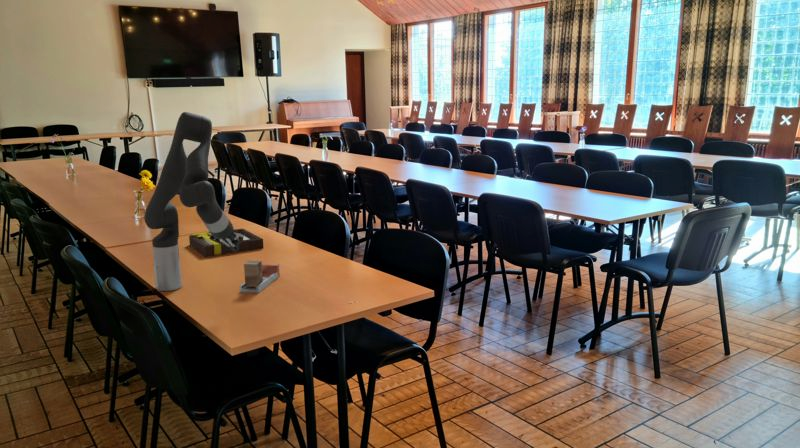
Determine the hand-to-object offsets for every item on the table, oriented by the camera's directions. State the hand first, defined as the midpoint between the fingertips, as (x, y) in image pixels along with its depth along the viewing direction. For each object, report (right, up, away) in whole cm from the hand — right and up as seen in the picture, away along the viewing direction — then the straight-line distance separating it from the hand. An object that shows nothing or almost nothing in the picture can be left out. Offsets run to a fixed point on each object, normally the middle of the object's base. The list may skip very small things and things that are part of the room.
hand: (236, 249), depth 217 cm
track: (+3, -15, +23) cm, 28 cm away
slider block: (+2, -14, +17) cm, 23 cm away
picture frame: (-27, -3, +83) cm, 87 cm away
